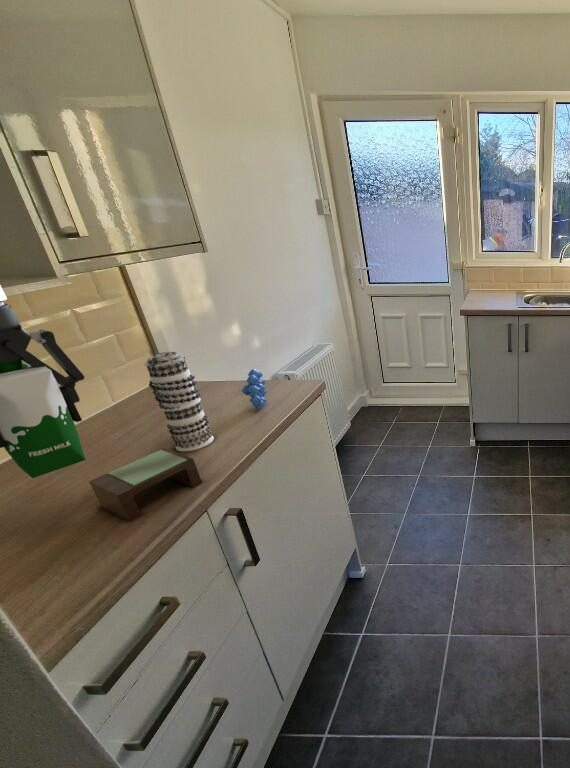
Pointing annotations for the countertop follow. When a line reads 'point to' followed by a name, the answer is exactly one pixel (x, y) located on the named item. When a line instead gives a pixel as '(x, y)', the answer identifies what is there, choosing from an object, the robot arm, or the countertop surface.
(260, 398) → the grapes
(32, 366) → the robot arm
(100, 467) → the countertop surface
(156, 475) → the brown wooden stand
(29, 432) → the milk carton
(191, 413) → the white patterned cylinder
